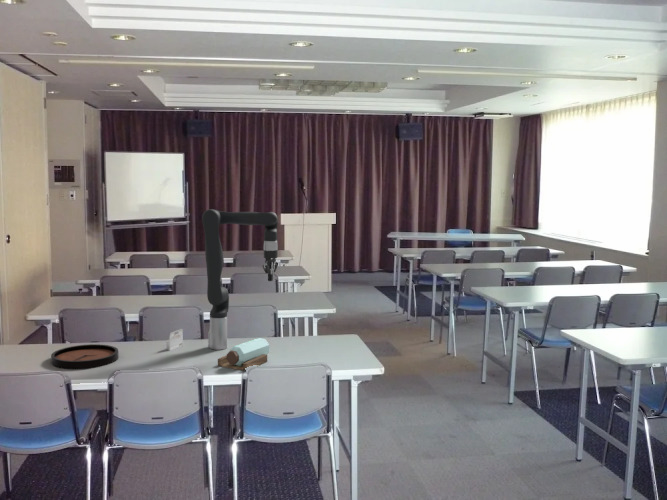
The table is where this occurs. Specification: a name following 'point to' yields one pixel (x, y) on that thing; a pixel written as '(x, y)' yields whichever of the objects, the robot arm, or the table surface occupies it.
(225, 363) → the cradle
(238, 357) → the water bottle
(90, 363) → the wall clock
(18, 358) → the table surface
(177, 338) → the ink cartridge box
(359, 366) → the table surface
